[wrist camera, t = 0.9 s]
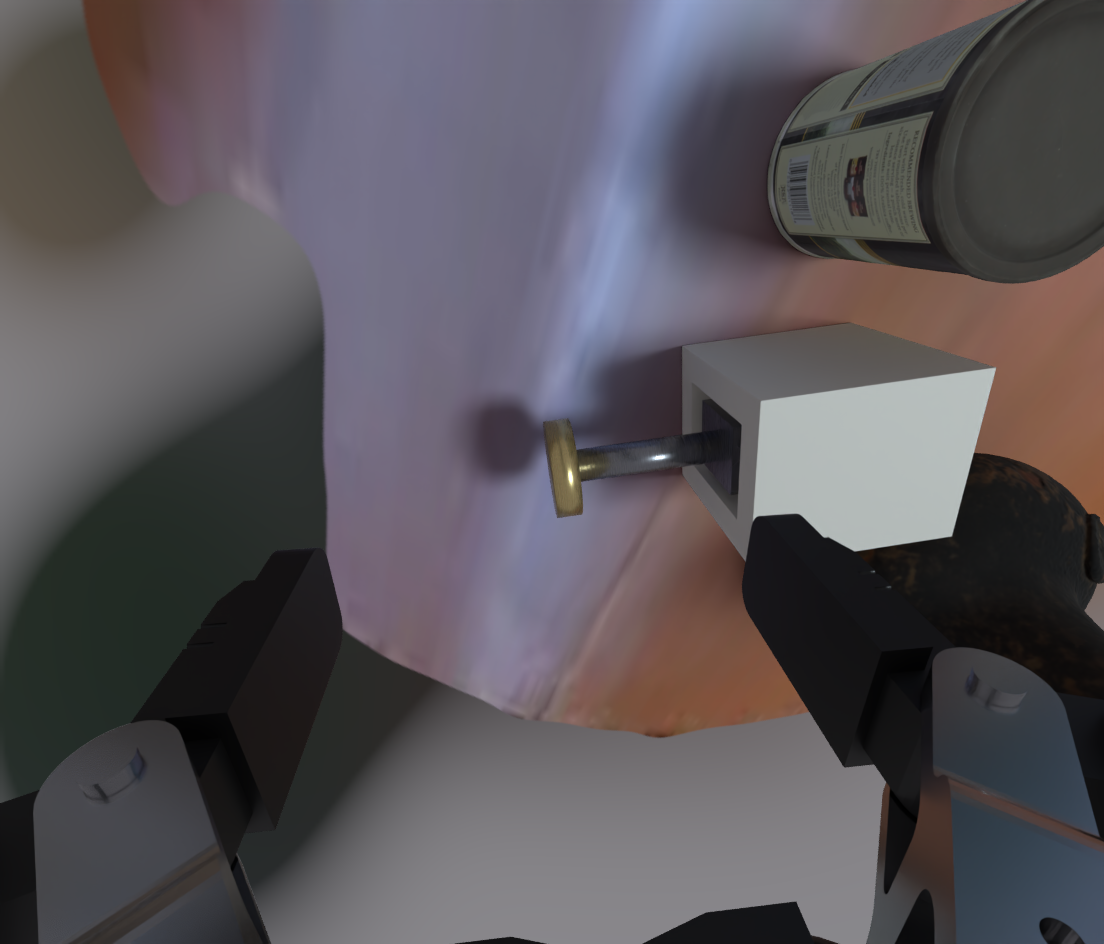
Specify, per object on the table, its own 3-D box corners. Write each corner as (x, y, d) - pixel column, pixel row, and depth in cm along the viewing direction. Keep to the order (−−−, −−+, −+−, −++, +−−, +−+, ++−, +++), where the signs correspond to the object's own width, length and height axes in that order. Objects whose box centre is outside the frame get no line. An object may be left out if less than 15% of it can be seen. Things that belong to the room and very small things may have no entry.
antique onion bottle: (1011, 539, 48) (1588, 903, 23) (827, 637, 51) (1157, 1054, 26) (964, 379, 40) (1743, 656, 15) (751, 504, 43) (1111, 910, 18)
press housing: (682, 475, 41) (750, 567, 31) (682, 345, 37) (761, 400, 26) (833, 452, 42) (951, 536, 31) (851, 322, 37) (996, 367, 27)
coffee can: (954, 176, 34) (1228, 155, 21) (815, 292, 36) (989, 335, 24) (884, 18, 30) (1170, -121, 17) (733, 160, 32) (889, 127, 20)
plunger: (550, 489, 37) (561, 536, 32) (540, 408, 35) (549, 444, 29) (712, 466, 38) (749, 508, 32) (714, 383, 35) (755, 415, 30)
